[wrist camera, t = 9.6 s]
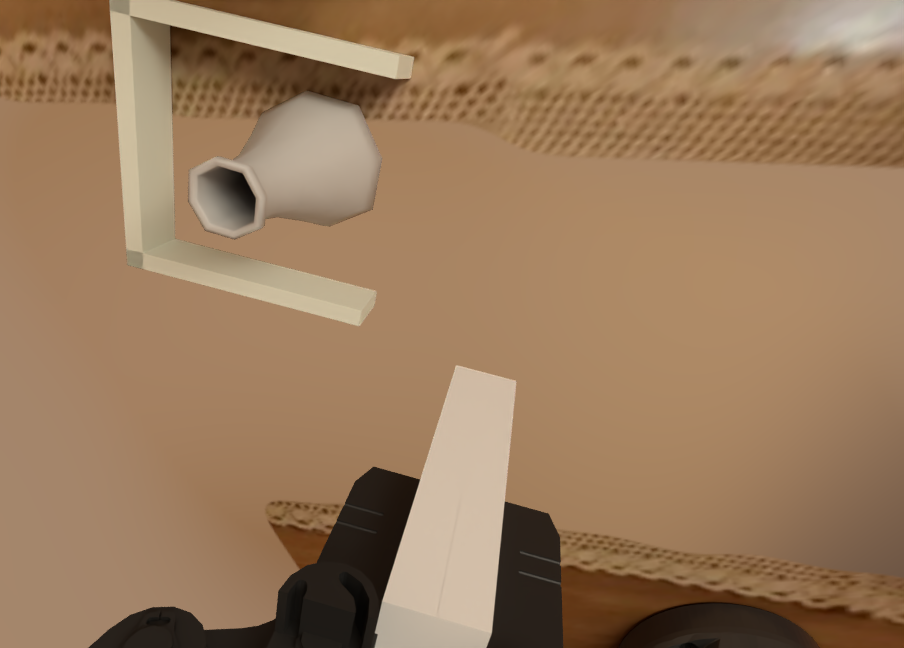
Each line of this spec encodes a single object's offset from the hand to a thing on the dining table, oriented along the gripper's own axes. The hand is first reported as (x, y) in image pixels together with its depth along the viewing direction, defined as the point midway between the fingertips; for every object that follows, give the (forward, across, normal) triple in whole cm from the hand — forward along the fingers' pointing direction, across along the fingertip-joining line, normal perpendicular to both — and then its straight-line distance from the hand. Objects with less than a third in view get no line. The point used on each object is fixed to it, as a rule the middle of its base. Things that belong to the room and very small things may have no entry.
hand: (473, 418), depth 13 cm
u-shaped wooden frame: (+18, +14, 0) cm, 23 cm away
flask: (+18, +11, -1) cm, 22 cm away
